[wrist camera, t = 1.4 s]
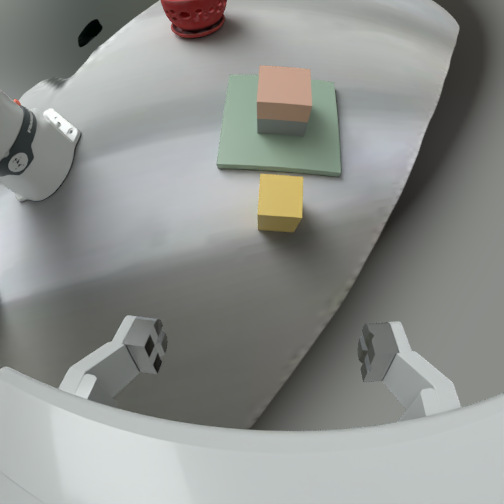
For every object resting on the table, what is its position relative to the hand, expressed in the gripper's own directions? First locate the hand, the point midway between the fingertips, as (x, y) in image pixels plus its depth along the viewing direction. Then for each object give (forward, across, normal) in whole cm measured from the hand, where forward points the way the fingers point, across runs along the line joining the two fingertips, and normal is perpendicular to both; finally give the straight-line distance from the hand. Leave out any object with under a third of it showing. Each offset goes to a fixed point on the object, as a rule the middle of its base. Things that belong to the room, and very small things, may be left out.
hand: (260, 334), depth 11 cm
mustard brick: (+30, 0, +8) cm, 31 cm away
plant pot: (+57, +15, -26) cm, 65 cm away
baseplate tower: (+40, -1, -4) cm, 40 cm away
